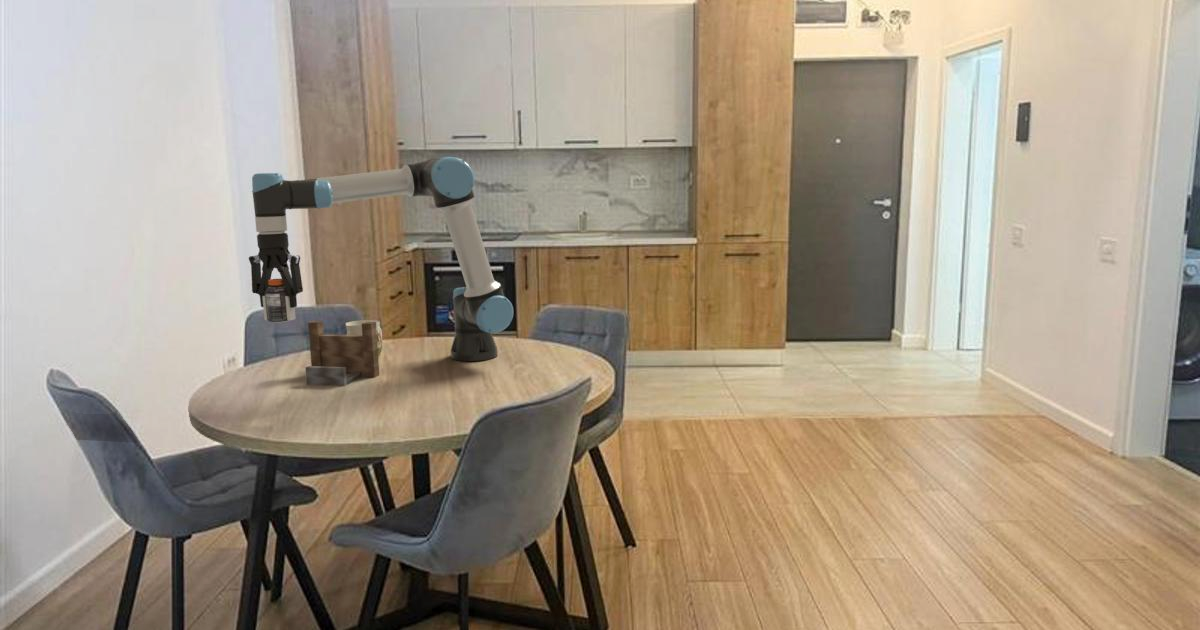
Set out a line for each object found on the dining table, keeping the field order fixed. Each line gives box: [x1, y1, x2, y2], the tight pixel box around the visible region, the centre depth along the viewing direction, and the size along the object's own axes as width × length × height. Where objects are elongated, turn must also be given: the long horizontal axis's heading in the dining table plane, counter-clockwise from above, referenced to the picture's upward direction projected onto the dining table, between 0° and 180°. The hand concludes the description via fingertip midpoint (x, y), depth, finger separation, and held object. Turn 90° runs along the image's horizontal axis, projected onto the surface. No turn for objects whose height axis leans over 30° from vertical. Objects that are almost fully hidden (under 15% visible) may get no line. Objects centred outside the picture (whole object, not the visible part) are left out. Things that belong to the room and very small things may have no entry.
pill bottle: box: [265, 278, 288, 323], centre depth 208 cm, size 6×6×11 cm
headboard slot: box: [305, 320, 380, 387], centre depth 226 cm, size 20×13×16 cm, turn 80°
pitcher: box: [344, 319, 383, 360], centre depth 246 cm, size 11×18×14 cm, turn 164°
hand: (280, 319), depth 209 cm, fingers closed on pill bottle, 6 cm apart
